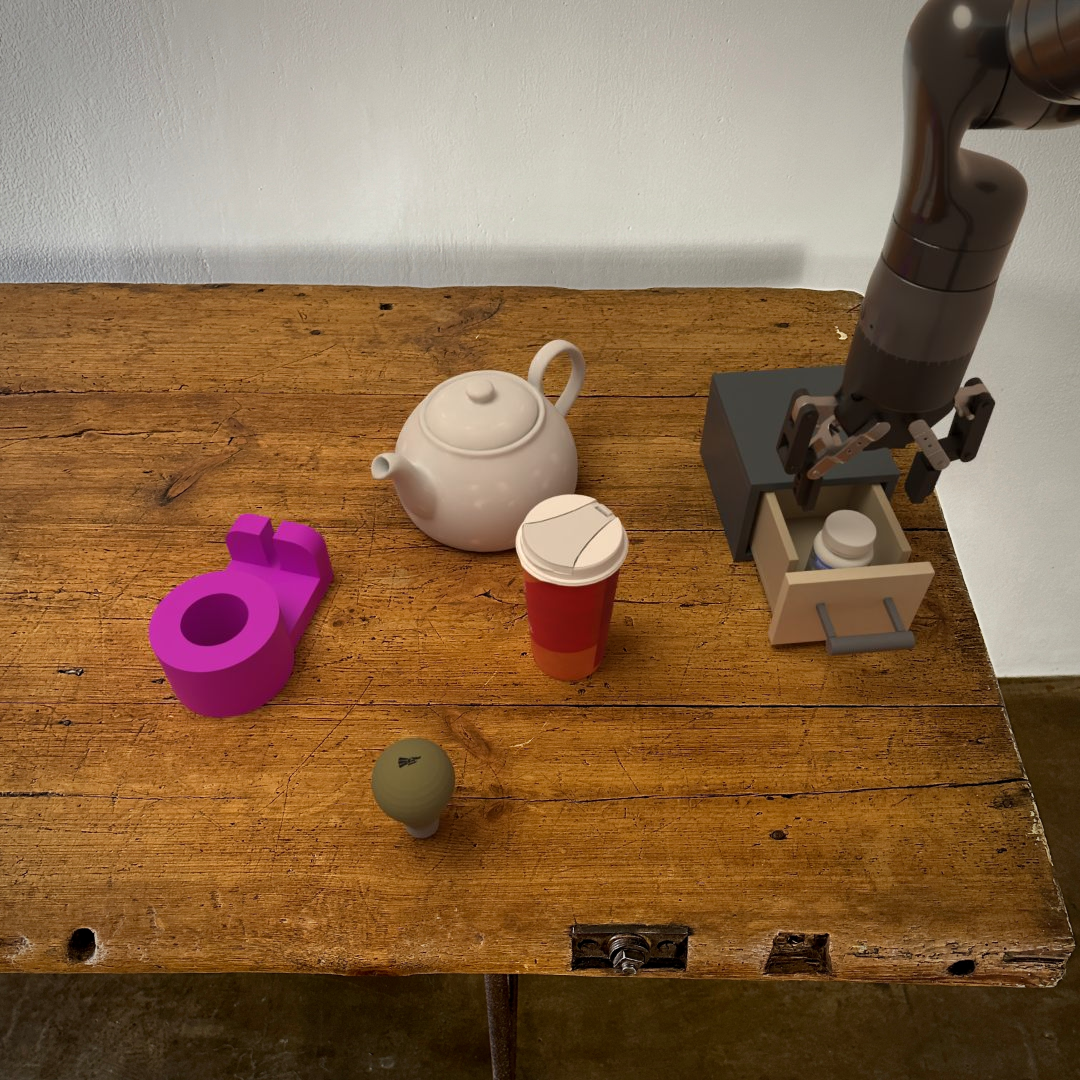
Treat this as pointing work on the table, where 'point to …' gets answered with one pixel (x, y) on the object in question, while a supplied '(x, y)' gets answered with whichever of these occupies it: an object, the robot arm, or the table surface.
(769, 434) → the cabinet
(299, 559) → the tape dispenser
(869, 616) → the storage drawer
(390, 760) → the light bulb
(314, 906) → the table surface
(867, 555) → the pill bottle
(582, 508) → the coffee cup
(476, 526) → the teapot
